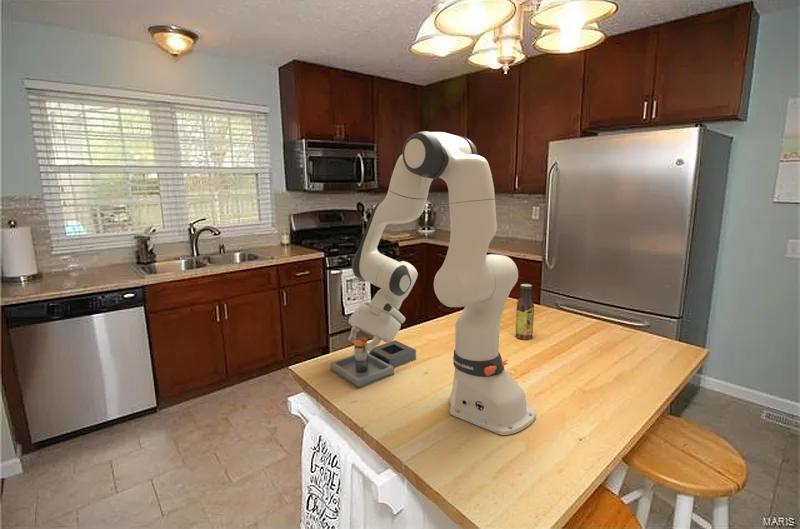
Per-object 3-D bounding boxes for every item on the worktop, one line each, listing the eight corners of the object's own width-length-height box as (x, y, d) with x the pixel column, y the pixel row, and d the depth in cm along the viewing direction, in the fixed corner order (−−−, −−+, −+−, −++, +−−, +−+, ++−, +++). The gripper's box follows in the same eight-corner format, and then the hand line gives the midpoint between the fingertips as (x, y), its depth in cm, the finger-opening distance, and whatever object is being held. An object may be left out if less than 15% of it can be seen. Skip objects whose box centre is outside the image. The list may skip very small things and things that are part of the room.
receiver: (416, 359, 135) (415, 349, 134) (389, 369, 128) (389, 359, 127) (395, 349, 143) (395, 340, 142) (369, 358, 136) (369, 348, 136)
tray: (394, 374, 125) (393, 367, 124) (358, 388, 117) (358, 380, 116) (364, 358, 137) (364, 351, 136) (330, 369, 129) (330, 362, 128)
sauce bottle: (529, 341, 147) (531, 288, 143) (512, 338, 151) (514, 286, 146) (535, 335, 152) (537, 284, 148) (519, 332, 156) (520, 282, 152)
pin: (370, 370, 126) (369, 339, 124) (360, 374, 124) (358, 343, 122) (363, 365, 129) (362, 336, 127) (353, 369, 127) (351, 339, 125)
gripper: (358, 295, 135) (334, 331, 131) (397, 309, 119) (371, 350, 115) (370, 306, 138) (347, 340, 134) (409, 320, 123) (384, 360, 119)
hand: (358, 345), depth 125 cm, fingers open, 8 cm apart
